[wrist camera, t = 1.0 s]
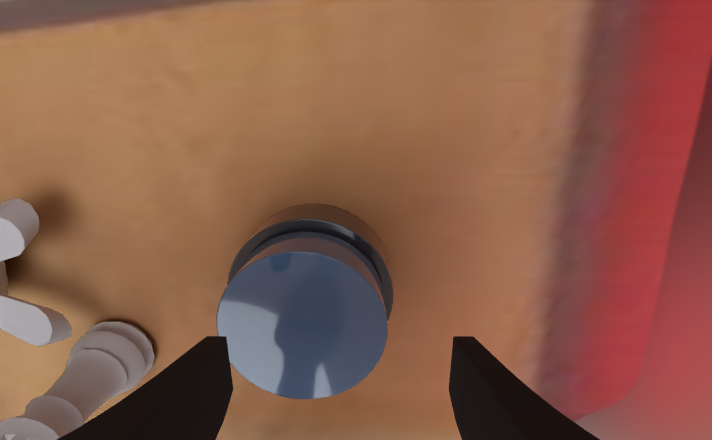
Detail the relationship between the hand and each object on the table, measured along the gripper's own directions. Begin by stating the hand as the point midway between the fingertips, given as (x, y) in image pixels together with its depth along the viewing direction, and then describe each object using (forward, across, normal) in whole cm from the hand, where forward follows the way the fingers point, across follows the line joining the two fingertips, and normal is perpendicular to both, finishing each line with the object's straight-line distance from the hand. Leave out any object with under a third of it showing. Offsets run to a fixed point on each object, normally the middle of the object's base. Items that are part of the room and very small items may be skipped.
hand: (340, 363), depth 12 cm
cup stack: (+10, +2, +2) cm, 10 cm away
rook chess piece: (+10, +14, +7) cm, 19 cm away
